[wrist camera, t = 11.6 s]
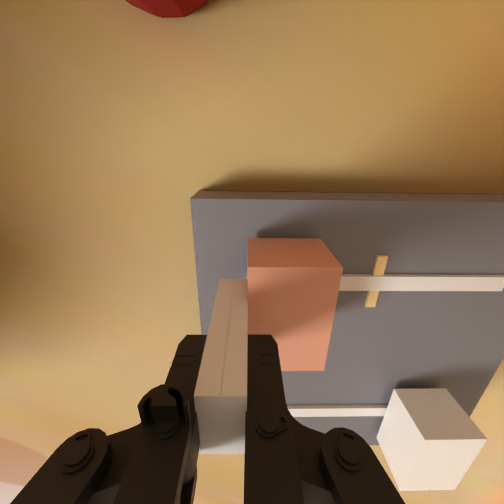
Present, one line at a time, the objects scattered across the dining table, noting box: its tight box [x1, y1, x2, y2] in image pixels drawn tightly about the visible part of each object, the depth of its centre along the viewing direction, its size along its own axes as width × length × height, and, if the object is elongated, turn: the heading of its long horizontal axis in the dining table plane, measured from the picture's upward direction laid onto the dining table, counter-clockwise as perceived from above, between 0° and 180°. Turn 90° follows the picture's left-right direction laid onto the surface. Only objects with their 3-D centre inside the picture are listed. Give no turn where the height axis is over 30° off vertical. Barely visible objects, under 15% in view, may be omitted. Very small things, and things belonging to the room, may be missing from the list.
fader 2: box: [376, 388, 487, 491], centre depth 18 cm, size 4×6×4 cm, turn 179°
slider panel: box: [190, 191, 504, 445], centre depth 19 cm, size 22×22×3 cm
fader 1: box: [247, 238, 343, 371], centre depth 13 cm, size 4×6×4 cm, turn 179°
